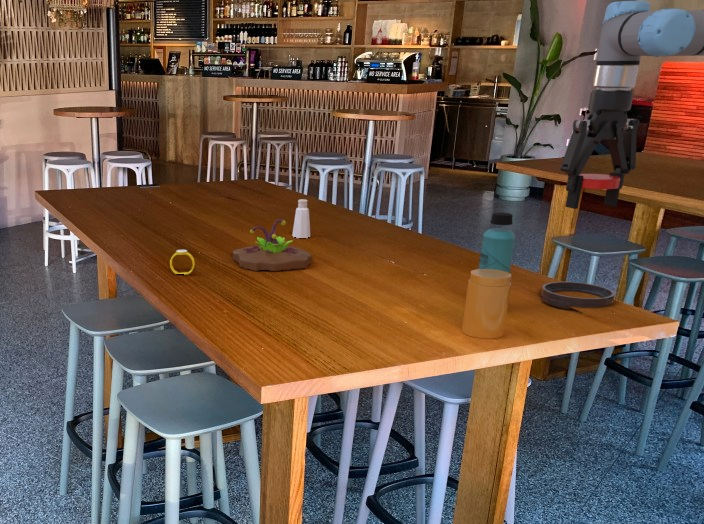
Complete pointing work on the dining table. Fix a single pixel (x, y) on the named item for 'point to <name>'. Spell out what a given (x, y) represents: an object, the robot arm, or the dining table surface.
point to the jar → (486, 303)
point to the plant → (272, 253)
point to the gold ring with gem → (182, 252)
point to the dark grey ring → (562, 300)
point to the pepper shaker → (301, 220)
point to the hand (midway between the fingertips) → (590, 206)
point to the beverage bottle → (498, 244)
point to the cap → (600, 181)
